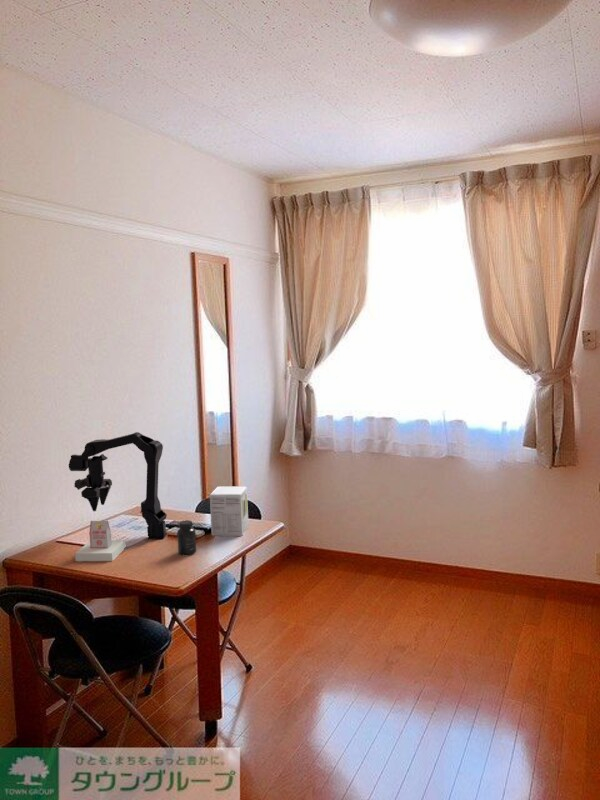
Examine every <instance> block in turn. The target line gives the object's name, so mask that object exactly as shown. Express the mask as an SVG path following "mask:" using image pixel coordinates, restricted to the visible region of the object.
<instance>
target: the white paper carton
mask: <svg viewBox="0 0 600 800" xmlns="http://www.w3.org/2000/svg"><path fill="white" fill-rule="evenodd" d="M89 523H90V525H89V533H88V535H89V541H90V548H109V547H110V546H111V545H112V543H111V540H112V532H111V531H112V530H111V527H110V522H109V521H108V520H90V521H89Z"/></svg>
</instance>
